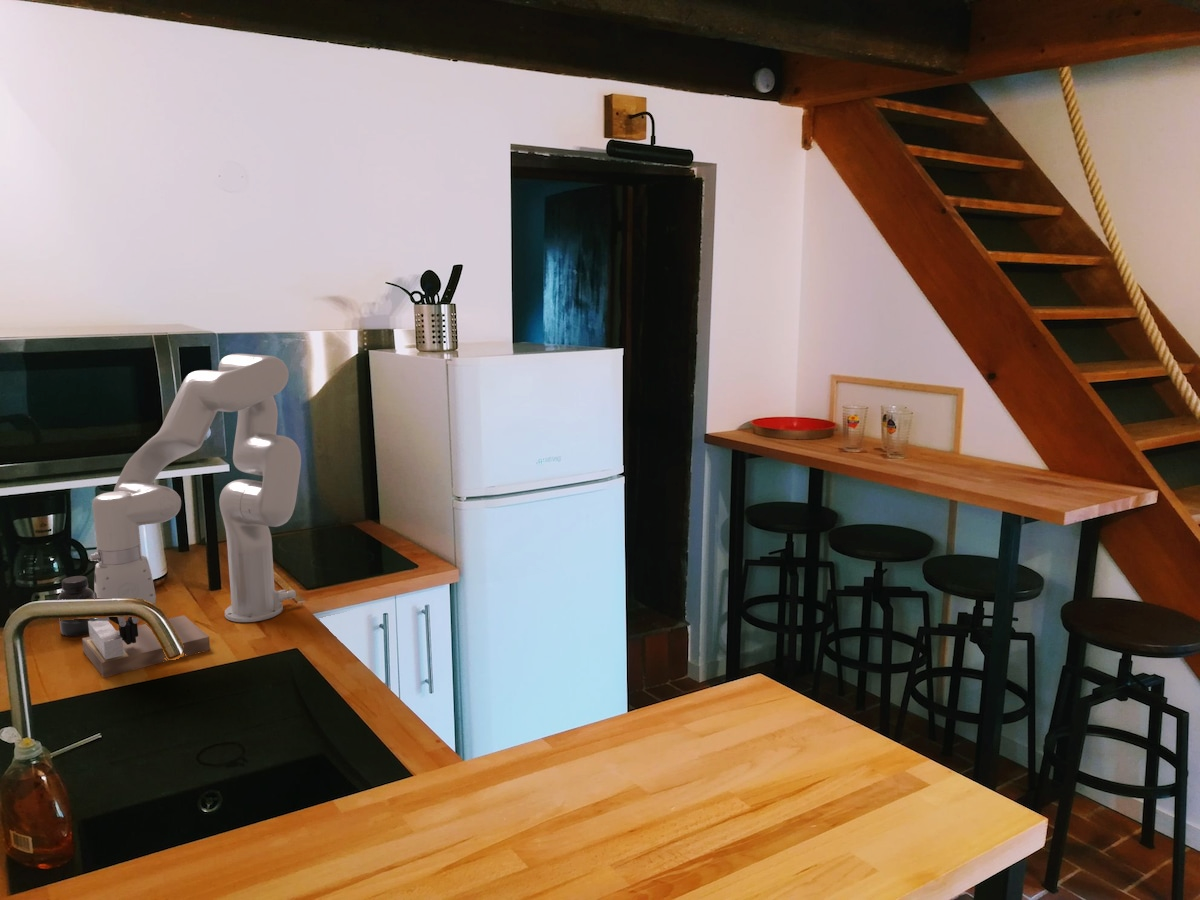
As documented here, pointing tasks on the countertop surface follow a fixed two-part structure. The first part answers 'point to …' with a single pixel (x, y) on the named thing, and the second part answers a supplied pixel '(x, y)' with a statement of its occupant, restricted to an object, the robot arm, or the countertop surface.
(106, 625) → the stool leg
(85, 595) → the supplement bottle
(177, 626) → the stool seat
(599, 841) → the countertop surface
